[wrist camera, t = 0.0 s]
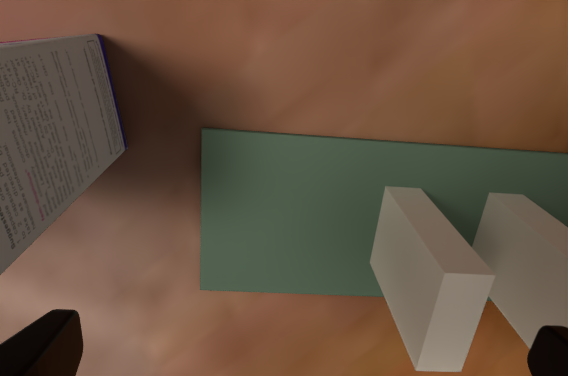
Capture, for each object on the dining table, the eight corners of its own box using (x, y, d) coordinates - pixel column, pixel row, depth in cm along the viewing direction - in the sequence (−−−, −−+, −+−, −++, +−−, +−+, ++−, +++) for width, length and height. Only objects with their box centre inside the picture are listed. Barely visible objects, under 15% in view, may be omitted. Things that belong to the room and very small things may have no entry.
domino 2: (496, 268, 26) (591, 374, 18) (465, 266, 25) (548, 373, 18) (522, 194, 24) (641, 281, 16) (489, 192, 23) (594, 279, 16)
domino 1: (402, 263, 25) (461, 371, 18) (369, 262, 25) (415, 370, 18) (420, 188, 23) (495, 275, 16) (385, 186, 23) (444, 273, 16)
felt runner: (680, 304, 28) (684, 308, 28) (200, 286, 25) (200, 290, 25) (762, 167, 24) (768, 169, 24) (202, 127, 21) (201, 129, 21)
